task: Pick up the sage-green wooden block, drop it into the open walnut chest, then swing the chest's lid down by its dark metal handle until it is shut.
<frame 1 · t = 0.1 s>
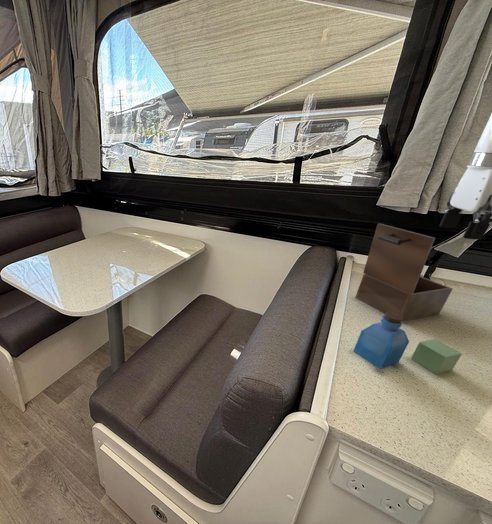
hand: (458, 232, 69), 26 cm above the kitchen counter, tool pointing down, fingers open, 9 cm apart
lid: (388, 258, 76), point 17 cm above the kitchen counter, hinge at 95.0°
block: (430, 364, 63), on the kitchen counter
chest: (394, 305, 85), on the kitchen counter
perfume bottle: (375, 357, 65), on the kitchen counter
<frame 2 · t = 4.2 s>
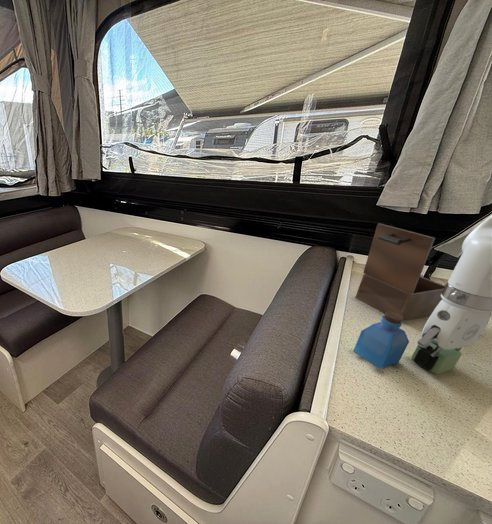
hand: (431, 362, 62), 0 cm above the kitchen counter, tool pointing down, fingers closed on block, 5 cm apart
block: (430, 364, 63), on the kitchen counter, touching gripper
everything else where it was.
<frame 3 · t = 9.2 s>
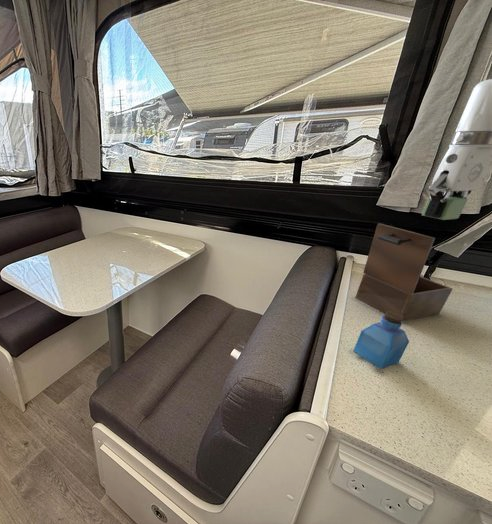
hand: (440, 215, 71), 30 cm above the kitchen counter, tool pointing down, fingers closed on block, 5 cm apart
block: (439, 216, 71), point 29 cm above the kitchen counter, touching gripper
everything else where it was.
when the fingers open (6 cm above the kitchen counter, at t = 14.3 s): block drops 5 cm, resting on chest.
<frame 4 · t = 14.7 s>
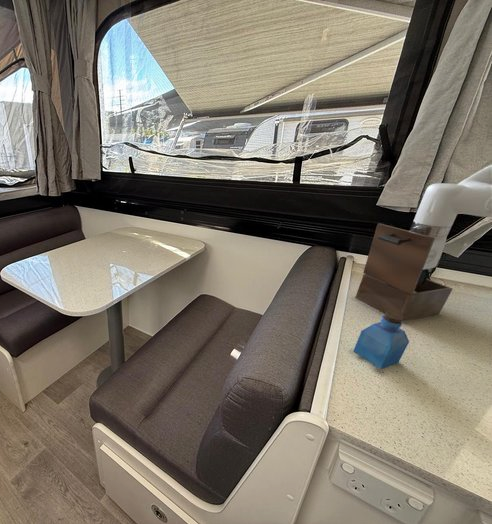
hand: (405, 283, 82), 8 cm above the kitchen counter, tool pointing down, fingers open, 9 cm apart
block: (396, 303, 85), point 1 cm above the kitchen counter, touching chest
everything else where it was.
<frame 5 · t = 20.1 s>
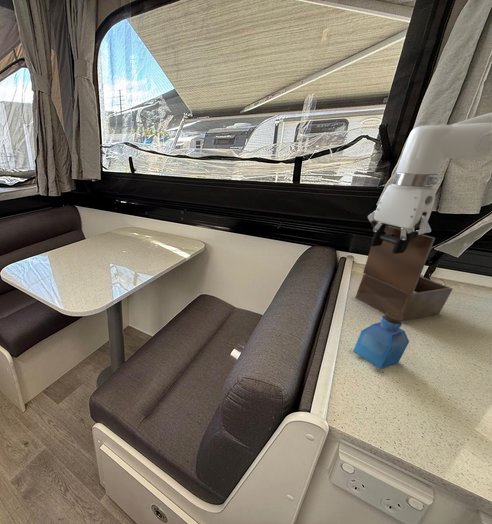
hand: (386, 248, 74), 21 cm above the kitchen counter, tool pointing down, fingers closed on lid, 5 cm apart
lid: (388, 258, 76), point 17 cm above the kitchen counter, hinge at 95.0°, touching gripper
everything else where it was.
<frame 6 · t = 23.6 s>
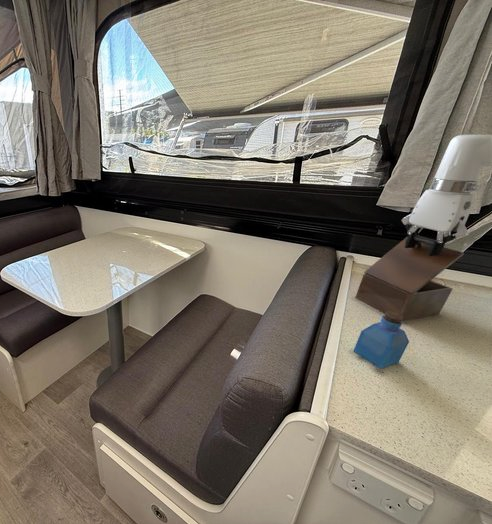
hand: (420, 250, 77), 19 cm above the kitchen counter, tool pointing down, fingers closed on lid, 5 cm apart
lid: (408, 259, 78), point 16 cm above the kitchen counter, hinge at 41.0°, touching gripper
everything else where it was.
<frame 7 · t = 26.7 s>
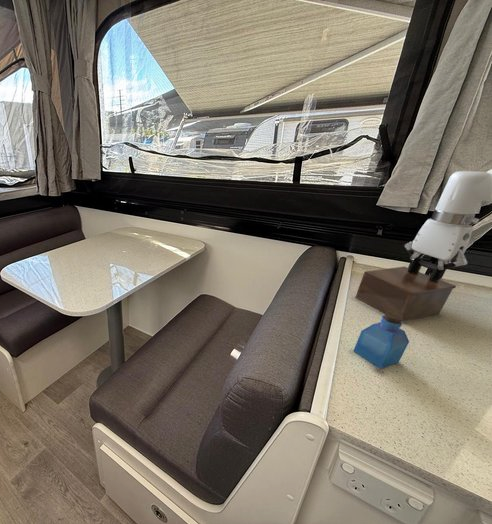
hand: (422, 275, 82), 10 cm above the kitchen counter, tool pointing down, fingers closed on lid, 5 cm apart
lid: (410, 273, 80), point 11 cm above the kitchen counter, hinge at -0.2°, touching chest, gripper
everything else where it was.
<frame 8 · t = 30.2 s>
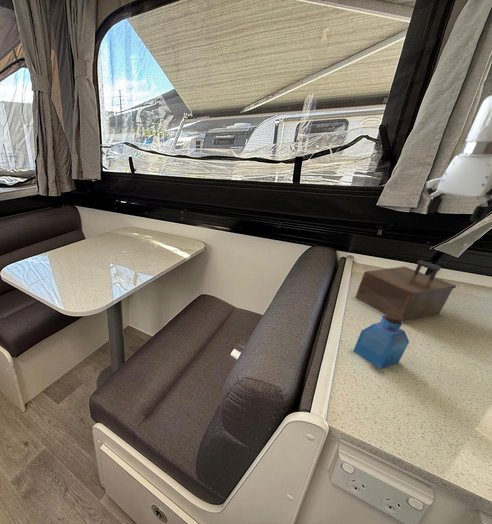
hand: (451, 216, 75), 28 cm above the kitchen counter, tool pointing down, fingers open, 9 cm apart
lid: (410, 273, 80), point 11 cm above the kitchen counter, hinge at -0.2°, touching chest
everything else where it was.
at the end: block inside the target area in the chest (0.0 cm from its centre), point 0.8 cm above the chest's base; lid at +0° (first picture: +95°) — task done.
